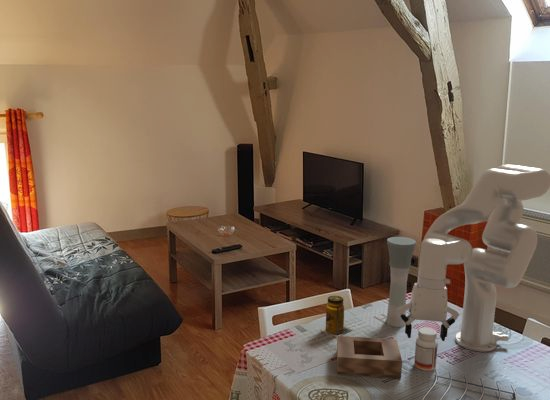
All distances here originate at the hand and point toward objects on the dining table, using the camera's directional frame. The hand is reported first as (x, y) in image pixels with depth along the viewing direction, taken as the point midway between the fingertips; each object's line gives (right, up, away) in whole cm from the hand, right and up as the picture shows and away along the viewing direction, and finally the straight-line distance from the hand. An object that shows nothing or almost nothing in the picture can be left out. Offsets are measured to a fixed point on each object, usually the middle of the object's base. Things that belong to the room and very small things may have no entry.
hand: (425, 337), depth 151 cm
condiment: (-23, -4, +25) cm, 34 cm away
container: (-1, -3, +31) cm, 31 cm away
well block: (-16, -9, +3) cm, 19 cm away
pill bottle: (+1, -9, +3) cm, 10 cm away
